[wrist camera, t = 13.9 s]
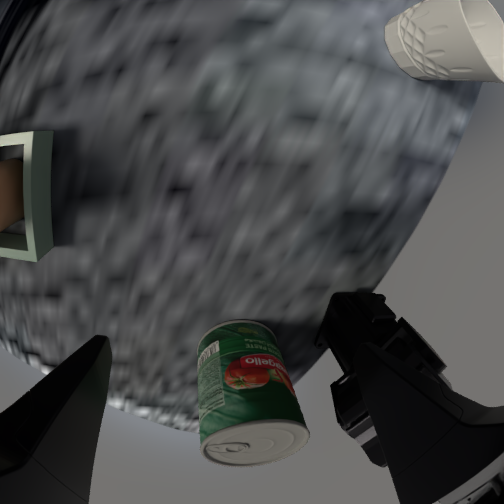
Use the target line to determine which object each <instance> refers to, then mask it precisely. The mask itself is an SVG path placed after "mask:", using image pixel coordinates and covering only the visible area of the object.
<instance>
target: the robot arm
mask: <svg viewBox="0 0 504 504" xmlns="http://www.w3.org/2000/svg"><path fill="white" fill-rule="evenodd" d="M336 298H337V299H336ZM335 299H336V300H335ZM385 300H386V297H385V296H384V295H382V294H375V293H358V292H356V293H353V294H351V293H335V294H333V295H332V297H331V299H330V302H329V305H328V308H327V311H326V313H325V316H324V319H323V322H322V324H321V327H320V330H319V332H318V335H317V338H316V340H315V343H314V344H315V346H316V348H330V349H331V351H332V353H333V355H334V356H335V358H336V360H337V362H338V363H339V365H340V367H341V369H342V371H343V372H344V375H343V376H342V377H340V378H339V379H338V380H337V381H334V382H333V383H332V384H331V385H330V387H331V392H332V397H333V402H334V407H335V413H336V417H337V422H338V424H339V425H340V426H341V428H342V429H343V430H344V431H345V432H346V433H347V434H348V435H349V436H351V437H352V438H354V439H355V440H356V441H357V442H358V443H359V444H360V446H361V447H362V448H363V450H364V451H365V453H366V454H367V456H368V457H369V459H370V461H371V462H372V463H374V464H376V465H378V466H380V467H386V466H387V465H388V468H389V470H390V474H391V477H392V478H393V479H392V480H393V483H394V486H395V489H396V492H397V496H398V499H399V502H400V504H432V503H434V502H436V501H439V502H440V503H441V504H504V406H500V407H486V406H483V405H481V404H479V403H477V402H475V401H472V400H470V399H468V398H466V397H464V396H462V395H460V394H458V393H456V392H454V391H453V390H452V387H451V384H450V382H449V381H448V380H447V379H446V377H445V376H444V375H443V374H442V373H441V372H442V371H443V370H444V369H445V368H446V367H447V366H446V365H445V363H444V362H443V360H442V359H441V358H440V357H439V356H438V354H437V353H436V352H435V350H434V349H433V348H432V347H431V346H430V345H429V344H428V343H427V342H426V340H425V339H424V338H423V337H422V336H421V335H420V334H419V333H418V332H417V331H416V330H415V329H414V328H413V327H412V326H411V325H410V324H409V323H408V322H407V321H406V320H405V319H404V318H403V317H401V318H400V319H399V320H398V323H397V322H396V320H395V319H396V315H395V314H394V313H393V312H392V310H391V309H390V308H389V307H388V306H387V305H386V304H385ZM111 364H112V352H111V347H110V342H109V338H108V337H107V336H103V335H95V336H94V337H93V338H91V339H90V340H89V341H88V342H86V343H85V344H84V345H83V346H81V347H80V348H79V349H78V350H77V351H75V352H74V353H73V354H72V355H70V356H69V357H68V358H67V359H66V360H64V361H63V362H62V363H61V364H60V365H58V366H57V367H56V368H55V369H54V370H52V371H51V372H50V373H49V374H48V375H46V376H45V377H44V378H43V379H42V380H41V381H39V382H38V383H37V384H36V385H35V386H34V387H33V388H31V389H30V391H28V392H26V394H24V395H23V396H22V397H21V398H20V399H18V400H17V401H16V402H15V403H14V404H12V405H11V406H10V407H8V408H7V409H6V410H4V411H3V412H1V413H0V504H88V502H89V495H90V486H91V477H92V470H93V464H94V458H95V452H96V447H97V442H98V437H99V432H100V427H101V422H102V418H103V413H104V409H105V405H106V400H107V393H108V385H109V378H110V371H111Z"/></svg>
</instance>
